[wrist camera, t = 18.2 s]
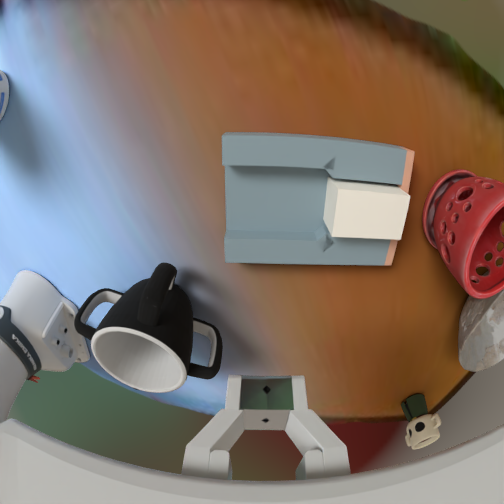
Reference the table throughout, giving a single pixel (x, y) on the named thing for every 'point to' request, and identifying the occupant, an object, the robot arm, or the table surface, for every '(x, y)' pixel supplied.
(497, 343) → the ceramic bowl
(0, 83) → the supplement tub
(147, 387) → the mug
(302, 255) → the channel dock
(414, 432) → the character mug
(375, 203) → the cream block
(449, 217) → the plant pot
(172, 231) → the table surface
